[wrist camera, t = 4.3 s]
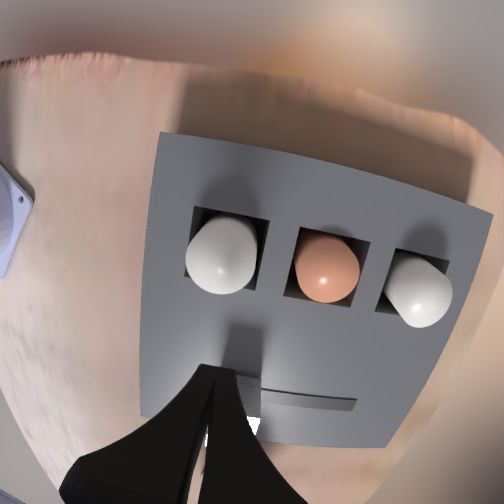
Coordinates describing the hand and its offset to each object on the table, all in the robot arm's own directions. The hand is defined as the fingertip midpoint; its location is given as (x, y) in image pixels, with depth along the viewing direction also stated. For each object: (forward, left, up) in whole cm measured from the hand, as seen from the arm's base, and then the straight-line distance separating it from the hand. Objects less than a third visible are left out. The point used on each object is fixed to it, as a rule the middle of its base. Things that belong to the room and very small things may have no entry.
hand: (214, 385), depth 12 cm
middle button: (+2, +5, -8) cm, 10 cm away
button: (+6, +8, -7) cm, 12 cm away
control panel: (+4, +2, -8) cm, 9 cm away
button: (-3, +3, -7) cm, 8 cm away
